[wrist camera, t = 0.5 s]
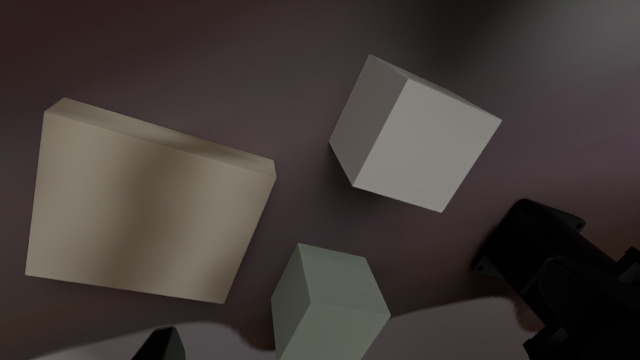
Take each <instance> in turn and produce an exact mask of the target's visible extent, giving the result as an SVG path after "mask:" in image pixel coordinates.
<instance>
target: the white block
mask: <svg viewBox="0 0 640 360" xmlns="http://www.w3.org/2000/svg"><path fill="white" fill-rule="evenodd" d="M501 122H502V120H501V119H499V118H497V117H495V116H494V115H492V114H490V113H488V112H487V111H485V110H483V109H481V108H479V107H478V106H476V105H474V104H472V103H471V102H469V101H467V100H465V99H463V98H462V97H460V96H458V95H456V94H455V93H453V92H451V91H449V90H447V89H445V88H443V87H441V86H439V85H437V84H434V83H432V82H430V81H428V80H426V79H423V78H421V77H419V76H417V75H415V74H412V73H410V72H408V71H406V70H403V69H401V68H399V67H397V66H395V65H392V64H390V63H388V62H386V61H384V60H381V59H379V58H377V57H375V56H373V55H370V54H369V56H368V58H367V60H366V62H365V64H364V66H363V68H362V71H361V73H360V75H359V77H358V79H357V81H356V84H355V86H354V88H353V90H352V92H351V94H350V97H349V99H348V101H347V103H346V105H345V107H344V109H343V112H342V114H341V116H340V118H339V120H338V122H337V125H336V127H335V129H334V131H333V133H332V135H331V137H330V140H329V143H330V145H331V147H332V149H333V151H334V153H335V154H336V156H337V158H338V160H339V162H340V164H341V166H342V168H343V169H344V171H345V173H346V175H347V177H348V179H349V181H350V182H351V184H352V186H354V187H357V188H360V189H364V190H367V191H370V192H374V193H377V194H381V195H384V196H387V197H391V198H394V199H397V200H401V201H404V202H407V203H411V204H414V205H417V206H421V207H424V208H427V209H431V210H434V211H438V212H441V213H442V212H443V210H444V209H445V207H446V206H447V204H448V203H449V201H450V199H451V198H452V196H453V195H454V193H455V192H456V190H457V189H458V187H459V186H460V184H461V183H462V181H463V180H464V178H465V177H466V175H467V174H468V172H469V171H470V169H471V167H472V166H473V164H474V163H475V161H476V160H477V158H478V157H479V155H480V154H481V152H482V151H483V149H484V148H485V146H486V145H487V143H488V142H489V140H490V139H491V137H492V136H493V134H494V132H495V131H496V129H497V128H498V126H499V125H500V123H501Z"/></svg>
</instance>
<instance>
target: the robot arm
mask: <svg viewBox="0 0 640 360" xmlns="http://www.w3.org/2000/svg"><path fill="white" fill-rule="evenodd" d="M585 224H586V222H585V221H584V220H583V219H581V218H580V217H577V216H574V215H572V214H569V213H566V212H563V211H560V210H557V209H555V208H552V207H549V206H546V205H543V204H540V203H538V202H535V201H532V200H529V199H522V200H520V201H519V202H518V203H517V204H516V205H515V207H514V208H513V209H512V211H511V212H510V213H509V215H508V216H507V218H506V219H505V220H504V222H503V223H502V224H501V226H500V227H499V228H498V230H497V231H496V232H495V234H494V235H493V236H492V238H491V239H490V240H489V242H488V243H487V244H486V246H485V247H484V248H483V250H482V251H481V252H480V254H479V255H478V256H477V258H476V259H475V260H474V262H473V263H472V265H471V268H472V269H473V271H474V272H475V273H477V274H482V275H486V276H490V277H495V278H499V279H503V280H506V281H507V282H508V283H509V284H510V286H511V287H512V288H513V289H514V290H515V291H516V292H517V294H518V295H519V296H520V297H521V298H522V299H523V300H524V302H525V303H526V304H527V305H528V306H529V307H530V309H531V310H532V311H533V312H534V313H535V314H536V315H537V317H538V318H539V319H540V320H541V321H542V322H543V324H544V325H545V327H544V328H543V329H542V330H541V331H539V332H538V333H537V334H536V335H535V336H534V337H533V338H532V339H528V340H527V341H526V342H525V343H524V344H523V346H524V348H525V350H526V352H527V354H528V355H529V359H530V360H640V251H639V250H637V249H636V248H634V247H630V248H629V249H628V250H627V251H626V252H625V254H626V255H624V256H623V257H622V258H621V259H620V260H619V261H618V262H616V261H614V260H613V259H612V258H610V257H609V256H608V255H606V254H605V253H604V252H602V251H601V250H600V249H599V248H597V247H596V246H595V245H593V244H592V243H591V242H589V241H588V240H587V239H586V238H584V237H583V236H582V235H580V234H579V232H580V231H581V230H582V229H583V228H584V226H585ZM131 360H185V351H184V347H183V345H182V342H181V340H180V337H179V334H178V332H177V329H176V328H175V327H174V326H168V327H163V328H158V329H155V330H154V331H153V332H152V333H151V335H150V336H149V337H148V338H147V340H146V341H145V342H144V344H143V345H142V346H141V347H140V349H139V350H138V351H137V353H136V354H135V355H134V357H133V358H132V359H131Z"/></svg>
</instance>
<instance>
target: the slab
mask: <svg viewBox="0 0 640 360" xmlns="http://www.w3.org/2000/svg"><path fill="white" fill-rule="evenodd" d="M276 178H277V177H276V171H275V166H274V161H273V160H271V159H268V158H265V157H261V156H258V155H255V154H251V153H248V152H245V151H241V150H238V149H235V148H231V147H228V146H225V145H221V144H218V143H215V142H212V141H208V140H205V139H202V138H198V137H195V136H192V135H188V134H185V133H182V132H178V131H175V130H172V129H168V128H165V127H162V126H158V125H155V124H152V123H148V122H145V121H142V120H138V119H135V118H132V117H128V116H125V115H122V114H118V113H115V112H112V111H108V110H105V109H102V108H98V107H95V106H92V105H88V104H85V103H82V102H79V101H75V100H72V99H69V98H65V97H64V98H63V99H61V100H60V101H59V102H57V103H56V104H54V105H53V106H52V107H50V108H49V109H48V110H46V111H45V112H44V120H43V128H42V137H41V145H40V154H39V162H38V171H37V179H36V188H35V196H34V205H33V213H32V221H31V230H30V238H29V247H28V255H27V264H26V272H25V275H29V276H36V277H43V278H50V279H56V280H63V281H70V282H77V283H84V284H90V285H97V286H104V287H111V288H118V289H125V290H131V291H138V292H145V293H152V294H159V295H165V296H172V297H179V298H186V299H193V300H200V301H206V302H213V303H220V304H224V302H225V300H226V297H227V295H228V292H229V290H230V288H231V285H232V283H233V280H234V278H235V276H236V273H237V271H238V269H239V266H240V264H241V261H242V259H243V257H244V254H245V252H246V249H247V247H248V245H249V242H250V240H251V238H252V235H253V233H254V230H255V228H256V226H257V223H258V221H259V219H260V216H261V214H262V211H263V209H264V207H265V204H266V202H267V199H268V197H269V195H270V192H271V190H272V188H273V185H274V183H275V180H276Z"/></svg>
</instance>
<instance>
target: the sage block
mask: <svg viewBox="0 0 640 360" xmlns="http://www.w3.org/2000/svg"><path fill="white" fill-rule="evenodd" d="M271 306H272V316H273V326H274V336H275V346H276V356H277V360H361V358H362V357H363V356H364V354H365V353H366V351H367V350H368V348H369V347H370V345H371V344H372V342H373V341H374V339H375V338H376V337H377V335H378V334H379V332H380V331H381V329H382V328H383V326H384V325H385V323H386V322H387V320H388V319H389V318H390V316H391V315H390V312H389V310H388V308H387V306H386V303H385V301H384V299H383V297H382V294H381V292H380V290H379V288H378V285H377V283H376V281H375V279H374V276H373V274H372V272H371V270H370V267H369V265H368V263H367V261H366V258H364V257H360V256H355V255H351V254H346V253H342V252H337V251H333V250H328V249H324V248H319V247H315V246H310V245H306V244H301V243H298V244H297V246H296V248H295V250H294V252H293V254H292V256H291V258H290V260H289V262H288V264H287V266H286V268H285V270H284V272H283V274H282V276H281V279H280V281H279V283H278V285H277V287H276V289H275V291H274V293H273V295H272V297H271Z"/></svg>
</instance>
